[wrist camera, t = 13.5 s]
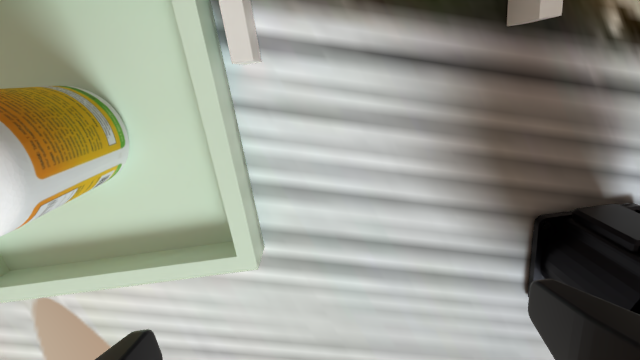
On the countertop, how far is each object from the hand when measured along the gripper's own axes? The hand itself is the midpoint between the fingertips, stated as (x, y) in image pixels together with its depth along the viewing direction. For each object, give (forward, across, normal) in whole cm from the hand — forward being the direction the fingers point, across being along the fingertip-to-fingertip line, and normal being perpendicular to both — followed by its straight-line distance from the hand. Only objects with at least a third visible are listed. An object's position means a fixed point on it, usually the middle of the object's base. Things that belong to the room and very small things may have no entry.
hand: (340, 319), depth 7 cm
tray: (+12, +13, -4) cm, 18 cm away
